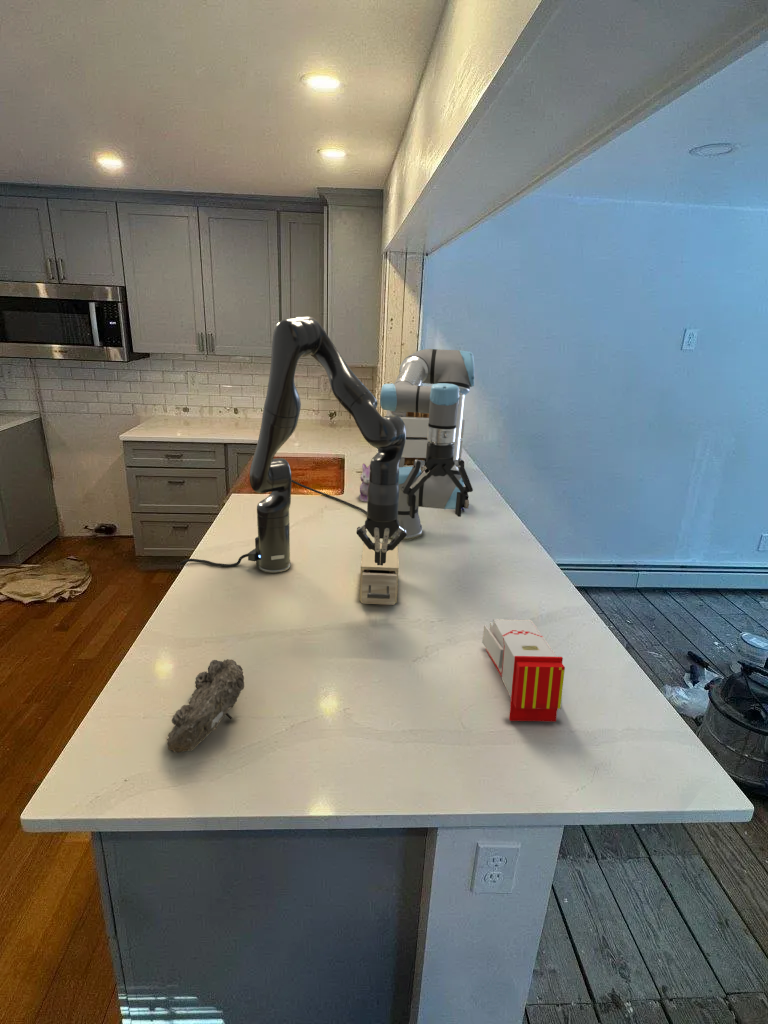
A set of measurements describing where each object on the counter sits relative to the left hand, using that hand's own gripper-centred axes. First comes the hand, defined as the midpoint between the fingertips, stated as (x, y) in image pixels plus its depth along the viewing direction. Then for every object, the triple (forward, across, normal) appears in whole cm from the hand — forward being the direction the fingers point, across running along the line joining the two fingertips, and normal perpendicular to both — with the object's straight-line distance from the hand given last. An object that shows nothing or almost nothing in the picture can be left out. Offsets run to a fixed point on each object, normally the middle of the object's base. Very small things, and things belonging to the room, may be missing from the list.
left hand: (380, 564), depth 143 cm
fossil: (+14, -31, -42) cm, 54 cm away
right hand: (-6, +15, +21) cm, 26 cm away
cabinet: (+14, 0, +14) cm, 20 cm away
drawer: (+13, 0, +8) cm, 15 cm away
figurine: (+14, -6, +93) cm, 94 cm away
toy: (+14, +30, -26) cm, 42 cm away
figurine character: (+14, +31, +86) cm, 93 cm away
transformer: (+14, +17, +136) cm, 137 cm away
